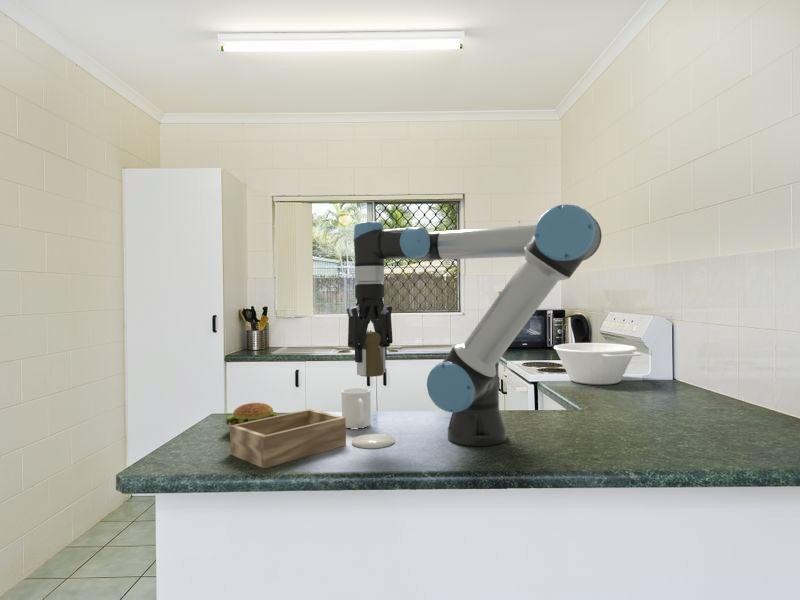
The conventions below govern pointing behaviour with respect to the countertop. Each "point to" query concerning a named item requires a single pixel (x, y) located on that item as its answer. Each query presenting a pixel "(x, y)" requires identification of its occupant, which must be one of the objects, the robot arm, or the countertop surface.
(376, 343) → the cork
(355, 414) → the mug
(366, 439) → the coaster
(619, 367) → the pot
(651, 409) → the countertop surface
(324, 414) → the access box
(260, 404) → the food
